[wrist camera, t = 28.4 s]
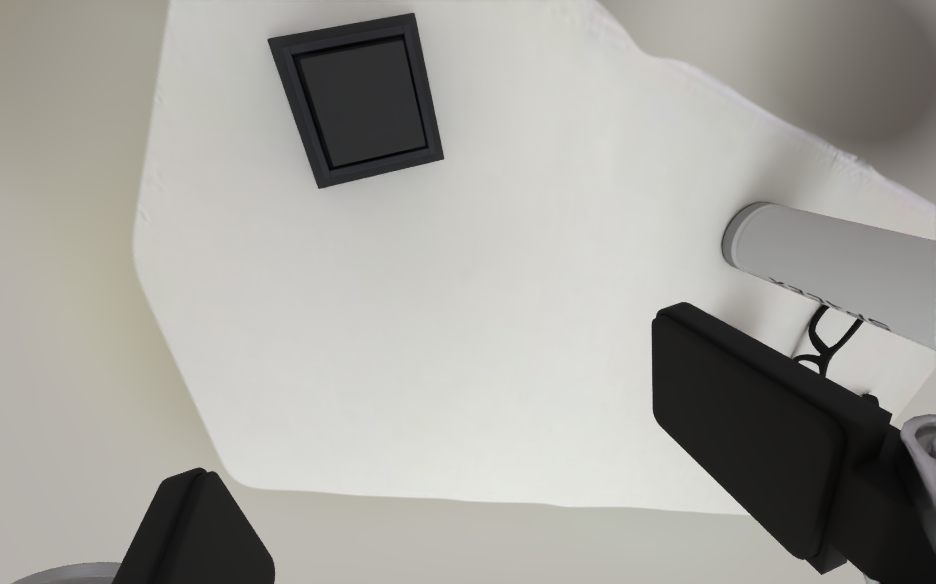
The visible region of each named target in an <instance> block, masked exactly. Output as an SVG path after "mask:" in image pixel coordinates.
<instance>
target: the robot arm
mask: <svg viewBox="0 0 936 584" xmlns="http://www.w3.org/2000/svg"><path fill="white" fill-rule="evenodd" d="M652 391H653V414H654V417H655V419H656V421H657V422H658V424H659V425H660V426H661V427H662V428H663V429H664V430H665V431H666V432H667V433H668V434H669V435H670V436H671V437H672V438H673V439H674V440H675V441H676V442H677V443H678V444H679V445H680V446H681V447H682V448H683V449H684V450H685V451H686V452H687V453H688V454H689V455H690V456H691V457H692V458H693V459H694V460H695V461H696V462H697V463H698V464H699V465H700V466H702V467H703V468H704V469H705V470H706V471H707V472H708V473H709V474H710V475H711V476H712V477H713V478H714V479H715V480H716V481H717V482H718V483H719V484H720V485H721V486H722V487H723V488H724V489H725V490H726V491H727V492H728V493H729V494H730V495H731V496H732V497H733V498H734V499H735V500H736V501H737V502H738V503H739V504H740V505H741V506H742V507H743V508H744V509H745V510H746V511H747V512H748V513H750V514H751V515H752V516H753V517H754V518H755V519H756V520H757V521H758V522H759V523H760V524H761V525H762V526H763V527H764V528H765V529H766V530H767V531H768V532H769V533H770V534H771V535H772V536H773V537H774V538H775V539H776V540H777V541H778V542H779V543H780V544H781V545H782V546H783V547H784V548H785V549H786V550H787V551H788V552H790V553H791V554H792V555H793V556H795V557H796V558H798V559H802V560H804V559H805V560H806V561H808V562H809V563H810V564H811V565H812V566H813V567H814V568H815V569H816V570H817V571H818V572H819V573H820V574H821V575H822V574H824V573H826V572H829V571H831V570H833V569H835V568H837V567H839V566H841V565H843V564H845V563H846V562H847V559H848V560H849V561H850V562H851V563H852V564H853V565H855V566H856V567H857V568H858V569H859V570H860V571H861V572H862V573H863V575H864V578H865V581H866V584H936V415H931V414H928V415H923V416H917V417H913V418H911V419H910V420H908V421H906V422H905V423H904V425H903V427H902V429H901V430H899V429H897V428H896V427H894V426H892V425H890V424H889V423H890V420H891V417H892V413H890V412H888V411H886V410H884V409H882V408H881V407H879V406H877V405H875V404H873V403H871V402H870V401H868V400H866V399H864V398H862V397H860V396H859V395H857V394H855V393H853V392H851V391H849V390H848V389H846V388H844V387H842V386H840V385H838V384H837V383H835V382H833V381H831V380H829V379H827V378H826V377H824V376H822V375H820V374H818V373H816V372H814V371H813V370H811V369H809V368H807V367H805V366H803V365H802V364H800V363H798V362H796V361H794V360H792V359H791V358H789V357H787V356H785V355H783V354H781V353H780V352H778V351H776V350H774V349H772V348H770V347H769V346H767V345H765V344H763V343H761V342H759V341H758V340H756V339H754V338H752V337H750V336H748V335H747V334H745V333H743V332H741V331H739V330H737V329H736V328H734V327H732V326H730V325H728V324H726V323H725V322H723V321H721V320H719V319H717V318H715V317H714V316H712V315H710V314H708V313H706V312H704V311H703V310H701V309H699V308H697V307H695V306H693V305H691V304H690V303H687V302H681V303H678V304H675V305H672V306H669V307H666V308H663V309H661V310H659V311H658V313H657V315H656V318H655V319H653V321H652ZM274 581H275V567H274V562H273V559H272V557H271V555H270V554H269V552H268V551H267V549H266V547H265V546H264V544H263V543H262V541H261V540H260V538H259V537H258V535H257V534H256V532H255V531H254V529H253V528H252V526H251V524H250V523H249V521H248V520H247V518H246V517H245V515H244V514H243V512H242V511H241V509H240V508H239V506H238V505H237V503H236V501H235V500H234V498H233V497H232V495H231V494H230V492H229V491H228V489H227V488H226V486H225V485H224V483H223V482H222V480H221V478H220V477H219V475H218V474H217V473H216V472H213V471H211V472H207V471H206V470H205V469H203V468H195V469H192V470H189V471H186V472H183V473H181V474H178V475H175V476H172V477H169V478H167V479H165V480H164V481H162V483H161V484H160V486H159V488H158V490H157V492H156V494H155V496H154V498H153V500H152V502H151V504H150V506H149V508H148V510H147V512H146V514H145V516H144V518H143V521H142V522H141V524H140V526H139V529H138V531H137V533H136V535H135V537H134V539H133V541H132V543H131V545H130V547H129V549H128V551H127V553H126V556H125V557H124V559H123V561H122V563H121V565H120V567H119V569H118V571H117V574H116V576H115V578H114V580H113V582H112V584H274Z"/></svg>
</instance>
